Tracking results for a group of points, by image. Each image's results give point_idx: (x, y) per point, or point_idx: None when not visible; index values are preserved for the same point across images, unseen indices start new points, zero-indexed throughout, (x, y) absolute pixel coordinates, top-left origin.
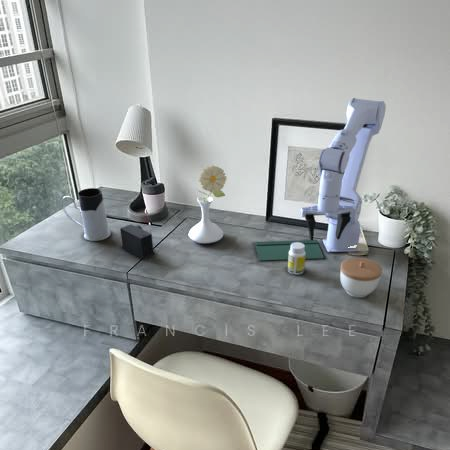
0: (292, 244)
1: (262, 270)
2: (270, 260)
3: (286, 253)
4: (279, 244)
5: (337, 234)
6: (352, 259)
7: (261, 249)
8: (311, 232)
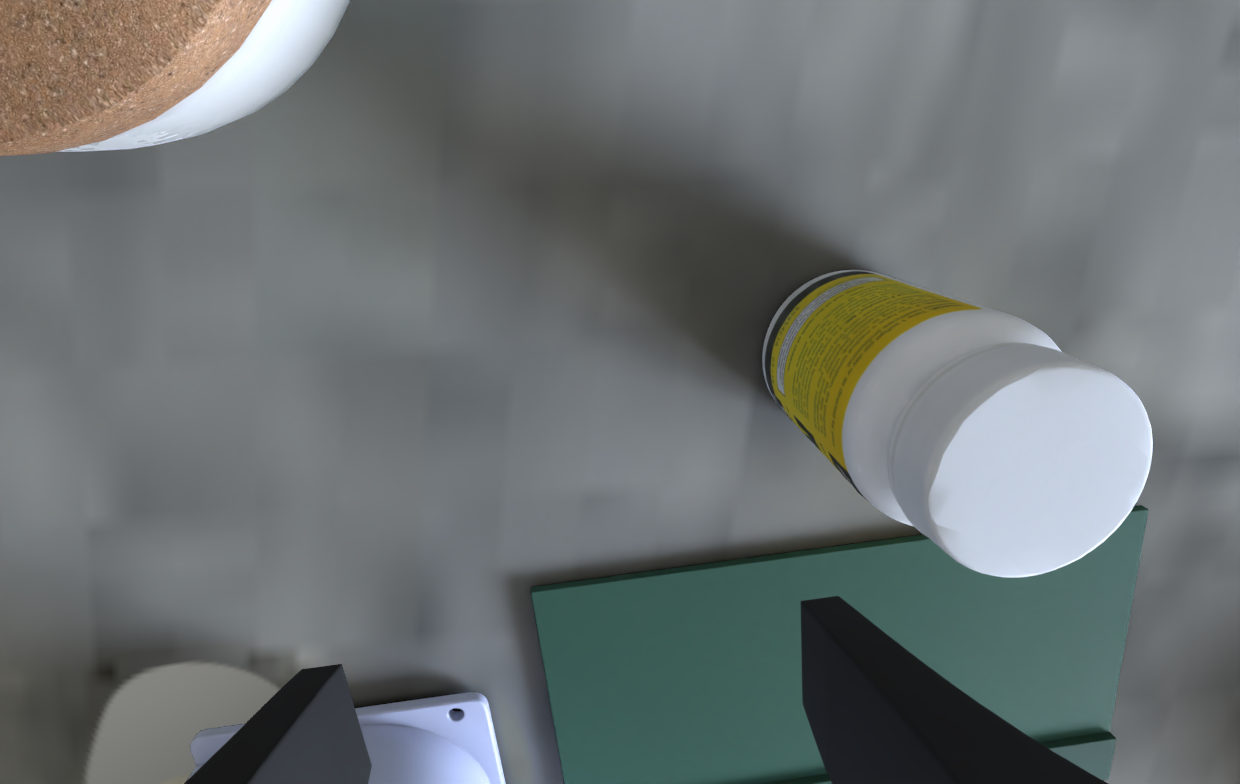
0: (1114, 505)
1: (1156, 340)
2: None
3: None
4: None
5: (314, 759)
6: (38, 20)
7: (1079, 681)
8: (951, 699)
